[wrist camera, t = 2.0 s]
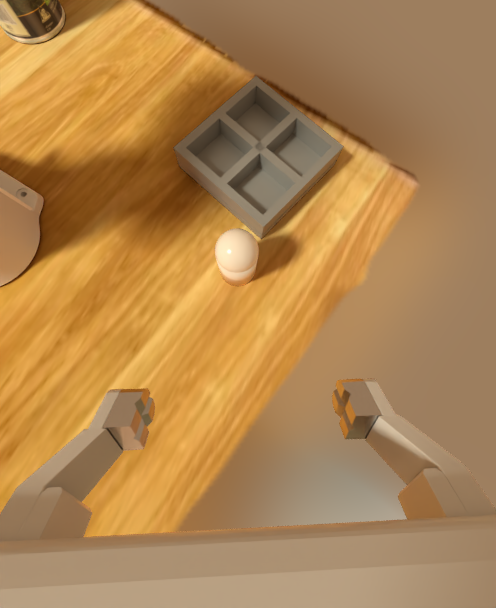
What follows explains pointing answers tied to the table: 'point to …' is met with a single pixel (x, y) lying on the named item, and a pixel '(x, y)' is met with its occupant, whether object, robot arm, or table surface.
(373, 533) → the robot arm
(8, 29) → the coffee can
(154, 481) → the table surface
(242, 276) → the cream rounded piece
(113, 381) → the table surface
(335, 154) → the grey compartment tray
